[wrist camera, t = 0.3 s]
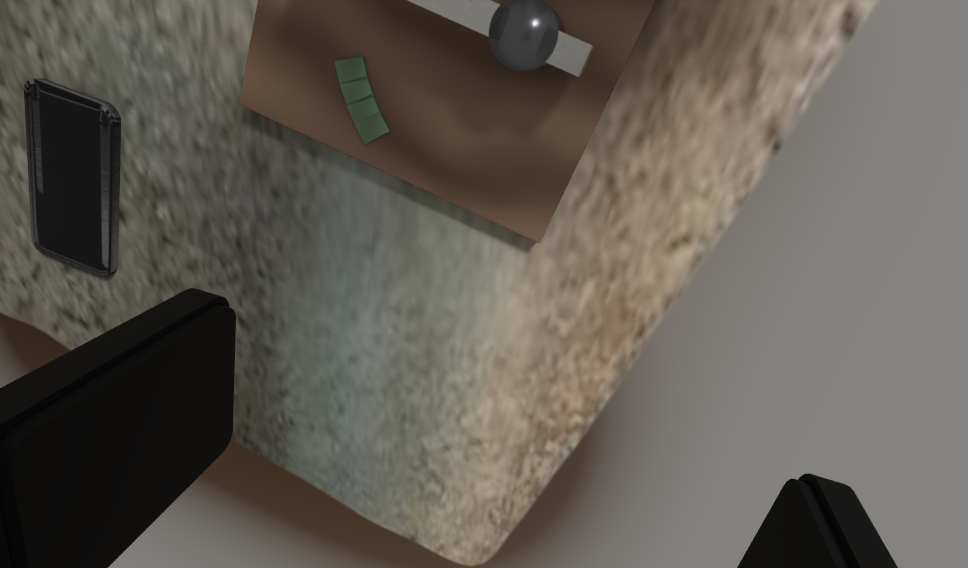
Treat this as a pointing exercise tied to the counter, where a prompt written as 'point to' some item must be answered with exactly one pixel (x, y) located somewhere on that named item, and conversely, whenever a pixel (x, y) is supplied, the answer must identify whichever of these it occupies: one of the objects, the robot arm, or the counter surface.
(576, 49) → the dial pointer
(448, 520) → the counter surface
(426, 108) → the dial board
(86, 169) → the phone
